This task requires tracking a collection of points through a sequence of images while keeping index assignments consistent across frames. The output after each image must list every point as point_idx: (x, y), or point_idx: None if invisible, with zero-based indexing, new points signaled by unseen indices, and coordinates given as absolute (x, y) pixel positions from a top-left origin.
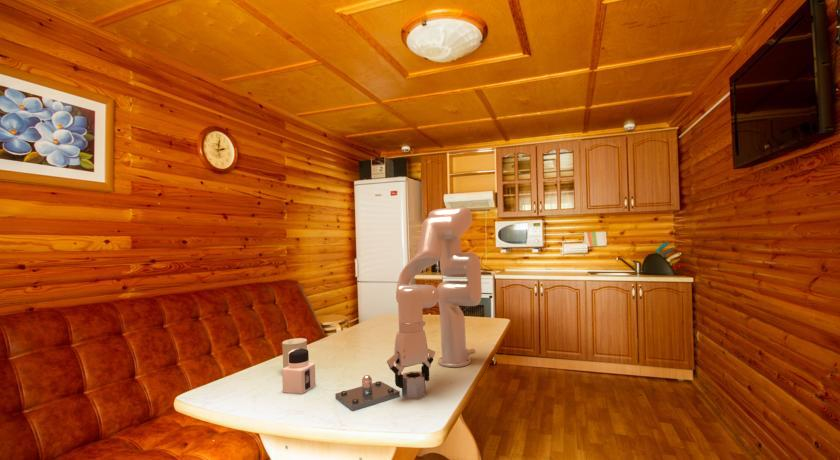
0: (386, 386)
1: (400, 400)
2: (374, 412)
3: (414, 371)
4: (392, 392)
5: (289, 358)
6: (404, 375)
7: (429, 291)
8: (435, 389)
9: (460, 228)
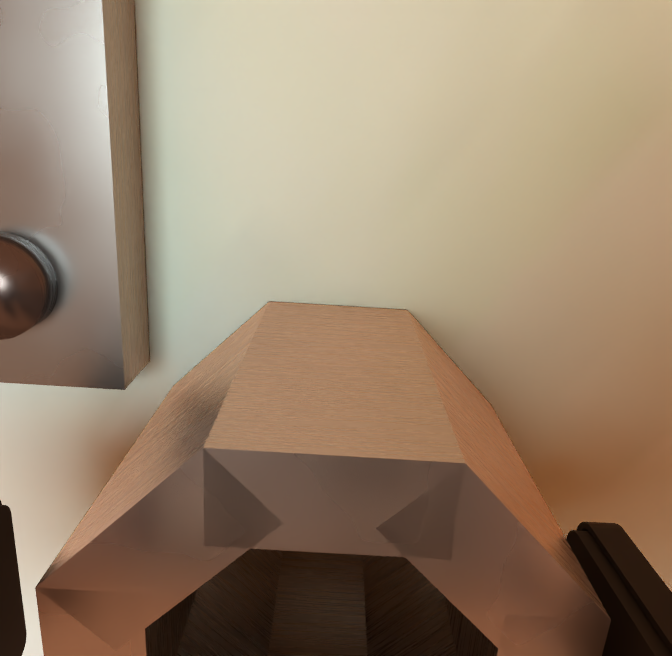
0: (43, 11)
1: (89, 465)
2: None
3: (523, 533)
4: (9, 345)
5: None
6: (143, 575)
7: None
8: (651, 504)
9: None
